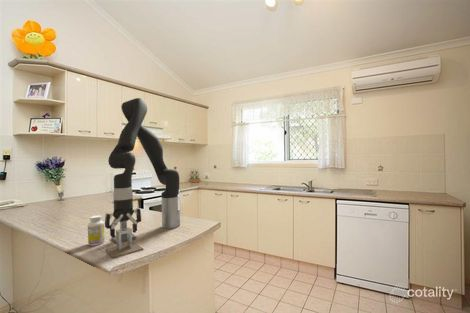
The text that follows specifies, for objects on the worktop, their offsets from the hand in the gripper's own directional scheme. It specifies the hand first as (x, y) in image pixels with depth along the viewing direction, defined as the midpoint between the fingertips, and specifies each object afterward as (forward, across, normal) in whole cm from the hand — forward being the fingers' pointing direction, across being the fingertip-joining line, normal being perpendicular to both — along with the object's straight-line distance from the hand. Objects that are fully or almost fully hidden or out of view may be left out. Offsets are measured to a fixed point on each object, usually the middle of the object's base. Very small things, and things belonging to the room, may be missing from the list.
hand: (124, 234), depth 100 cm
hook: (+6, 0, 0) cm, 6 cm away
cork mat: (+7, 0, 0) cm, 7 cm away
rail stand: (+7, -4, -12) cm, 14 cm away
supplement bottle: (+7, +7, -18) cm, 21 cm away
